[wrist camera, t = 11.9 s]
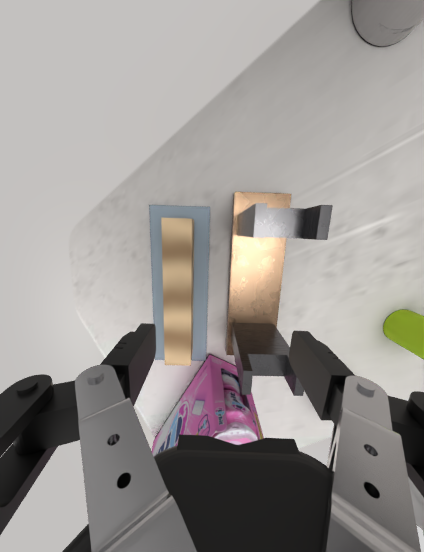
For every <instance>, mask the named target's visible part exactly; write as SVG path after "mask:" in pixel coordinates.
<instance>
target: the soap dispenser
mask: <svg viewBox="0 0 424 552" xmlns="http://www.w3.org/2000/svg"><path fill="white" fill-rule="evenodd" d="M383 331H384V334H385V335H386V337H387V338H389V339H390V340H392V341H394V342H395V343H397V344H399V345H400V346H402V347H404V348H405V349H407V350H409V351H410V352H412V353H414V354H415V355H417V356H419V357H420V358H422V359H424V316H422V315H420V314H417V313H415V312H412V311H409V310H398V311H396V312H394V313H392V314H391V315H389V316H388V318H387V319H386V320H385V323H384V326H383Z"/></svg>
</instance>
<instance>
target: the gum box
mask: <svg viewBox="0 0 424 552" xmlns="http://www.w3.org/2000/svg"><path fill="white" fill-rule="evenodd" d="M179 434H181V435H205V436H210V437H214V438H217V439H220V440H223V441H226V442H229V443H232V444H236V445H241V444H245V443H248V442H252V441H256V440H260V439H264V437H263V434H262V430H261V426H260V423H259V419H258V415H257V411H256V408H255V404H254V400H253V397H252V393H251V395H242V393H241V388H240V383H239V378H238V373H237V368H236V367H235V366H233V365H232V364H230V363H227V362H225V361H223V360H221V359H218V358H216V357H214V356H212V355H209V356H208V358H207V359H206V361H205V362H204V364H203V366H202V367H201V369H200V370H199V371H198V373H197V374H196V376H195V378H194V379H193V381H192V383H191V384H190V386H189V387H188V388H187V390H186V391H185V393H184V394H183V396H182V398H181V399H180V401H179V402H178V404H177V405H176V407H175V408H174V410H173V411H172V413H171V415H170V416H169V418H168V419H167V421H166V422H165V424H164V425H163V427H162V428H161V430H160V432H159V433H158V435H157V437H156V438H155V440H154V442H153V447H152V454H153V457H154V456H155V455H157V454H158V453H160V452H162V451H164V450H166V449H168V448H171V447H174V446H177V445H178V438H179Z"/></svg>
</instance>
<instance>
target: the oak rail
mask: <svg viewBox="0 0 424 552" xmlns="http://www.w3.org/2000/svg"><path fill="white" fill-rule="evenodd" d="M161 225H162V267H163V310H164V353H165V365H189V366H191V359H192V352H193V291H194V220H193V219H188V218H161Z"/></svg>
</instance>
